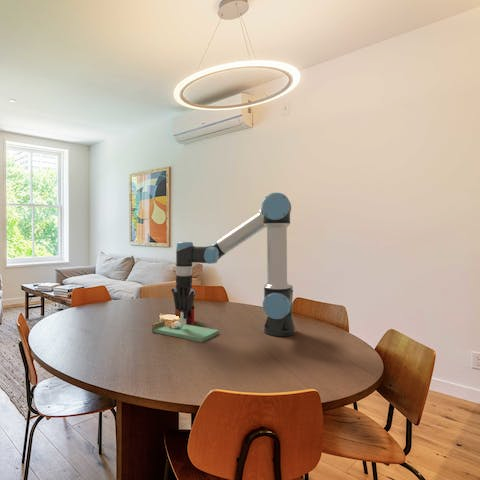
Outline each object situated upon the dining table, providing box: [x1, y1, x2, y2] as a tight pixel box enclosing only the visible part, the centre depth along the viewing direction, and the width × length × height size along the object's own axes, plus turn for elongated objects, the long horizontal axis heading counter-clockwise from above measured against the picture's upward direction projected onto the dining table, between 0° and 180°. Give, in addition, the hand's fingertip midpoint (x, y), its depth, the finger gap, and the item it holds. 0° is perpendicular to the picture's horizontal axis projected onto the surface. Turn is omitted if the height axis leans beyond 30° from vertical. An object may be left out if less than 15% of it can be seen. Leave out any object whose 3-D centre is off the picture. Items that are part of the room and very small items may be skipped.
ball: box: [173, 320, 180, 328], centre depth 161 cm, size 3×3×3 cm
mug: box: [174, 299, 195, 325], centre depth 178 cm, size 10×14×12 cm
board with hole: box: [151, 320, 220, 343], centre depth 159 cm, size 28×14×4 cm, turn 62°
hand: (183, 325), depth 159 cm, fingers closed
